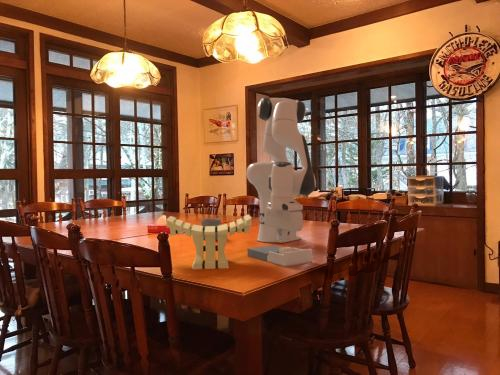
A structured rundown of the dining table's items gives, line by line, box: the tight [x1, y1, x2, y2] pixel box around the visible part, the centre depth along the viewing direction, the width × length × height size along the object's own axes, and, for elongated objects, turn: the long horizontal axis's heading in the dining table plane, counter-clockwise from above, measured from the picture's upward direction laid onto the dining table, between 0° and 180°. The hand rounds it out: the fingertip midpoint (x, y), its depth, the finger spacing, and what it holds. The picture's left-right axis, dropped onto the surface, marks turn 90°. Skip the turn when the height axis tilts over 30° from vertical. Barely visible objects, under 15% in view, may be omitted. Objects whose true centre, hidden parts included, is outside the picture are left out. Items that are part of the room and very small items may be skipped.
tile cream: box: [279, 246, 293, 255], centre depth 156 cm, size 4×4×2 cm
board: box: [247, 244, 293, 262], centre depth 164 cm, size 13×13×3 cm
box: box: [266, 247, 313, 268], centre depth 154 cm, size 13×11×5 cm
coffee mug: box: [200, 217, 222, 241], centre depth 213 cm, size 13×10×10 cm
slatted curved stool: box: [166, 214, 252, 270], centre depth 152 cm, size 30×16×18 cm, turn 95°
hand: (282, 239), depth 157 cm, fingers closed
